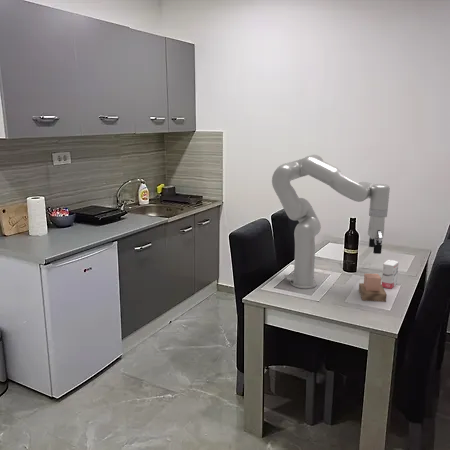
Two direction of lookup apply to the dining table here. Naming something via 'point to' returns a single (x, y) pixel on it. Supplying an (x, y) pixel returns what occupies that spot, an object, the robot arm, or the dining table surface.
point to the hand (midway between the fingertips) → (374, 250)
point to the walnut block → (372, 294)
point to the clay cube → (372, 282)
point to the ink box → (390, 274)
